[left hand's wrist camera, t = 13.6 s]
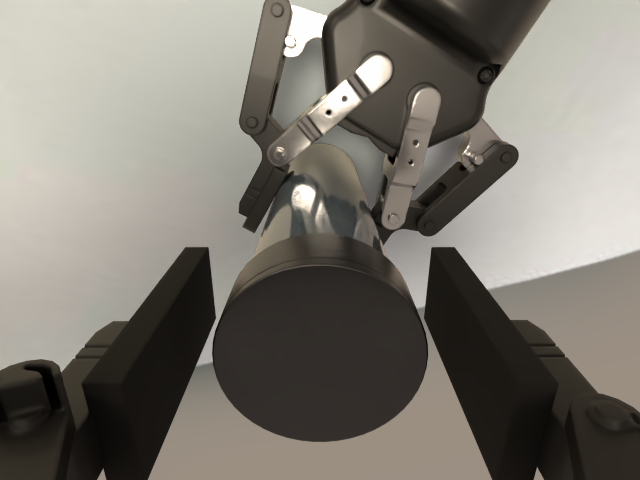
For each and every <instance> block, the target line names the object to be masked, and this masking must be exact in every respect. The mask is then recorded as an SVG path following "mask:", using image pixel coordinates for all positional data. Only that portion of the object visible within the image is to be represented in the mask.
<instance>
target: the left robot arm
mask: <svg viewBox="0 0 640 480" xmlns="http://www.w3.org/2000/svg"><path fill="white" fill-rule="evenodd" d="M215 319H216V315H215V305H214V296H213V286H212V277H211V268H210V258H209V249H208V247H185V249H184V250H183V251H182V253H181V254H180V255H179V256H178V258H177V259H176V260H175V262H174V263H173V264H172V266H171V267H170V268H169V270H168V271H167V272H166V273H165V275H164V276H163V277H162V279H161V280H160V281H159V283H158V284H157V285H156V286H155V288H154V289H153V290H152V292H151V293H150V294H149V296H148V297H147V298H146V300H145V301H144V302H143V303H142V305H141V306H140V307H139V309H138V310H137V311H136V313H135V314H134V315H133V317H132V318H131V319H130V320H129V321H113V322H112V323H110V324H108V325H107V326H105V327H104V328H102V329H101V330H99V331H98V332H96V333H95V334H94V335H93V337H92V338H91V339H90V340H89V341H88V342H87V343H86V345H85V348H82V349H81V350H80V352H79V353H78V354H77V355H76V358H75V359H73V360H72V361H71V362H70V363H69V364H68V366H67V367H66V368H65V369H64V370H63V371H62V373H61V371H60V367H59V366H58V365H57V364H56V363H54V362H53V361H48V360H42V359H40V360H31V361H25V362H21V363H18V364H15V365H11V366H9V367H7V368H5V369H2V370H0V480H97V479H98V477H99V475H100V473H101V471H102V469H103V468H104V472H105V476H106V480H148V478H149V475H150V473H151V471H152V468H153V466H154V463H155V461H156V459H157V456H158V454H159V452H160V449H161V447H162V444H163V442H164V440H165V437H166V435H167V433H168V430H169V428H170V425H171V423H172V421H173V418H174V416H175V414H176V411H177V409H178V407H179V404H180V402H181V400H182V397H183V395H184V392H185V390H186V388H187V385H188V383H189V381H190V378H191V376H192V373H193V371H194V369H195V366H196V364H197V362H198V359H199V357H200V355H201V352H202V350H203V347H204V345H205V343H206V340H207V338H208V336H209V333H210V331H211V329H212V326H213V324H214V321H215ZM424 319H425V321H426V324H427V326H428V329H429V331H430V333H431V336H432V338H433V340H434V343H435V345H436V347H437V350H438V352H439V355H440V357H441V359H442V362H443V364H444V366H445V369H446V371H447V374H448V376H449V378H450V381H451V383H452V385H453V388H454V390H455V392H456V395H457V397H458V400H459V402H460V404H461V407H462V409H463V411H464V414H465V416H466V418H467V421H468V423H469V426H470V428H471V430H472V433H473V435H474V437H475V440H476V442H477V444H478V447H479V449H480V452H481V454H482V456H483V459H484V461H485V463H486V466H487V468H488V471H489V473H490V475H491V478H492V480H533V479H534V476H535V472H536V468H537V467H538V469H539V471H540V473H541V474H542V476H543V478H544V480H640V412H638V411H637V410H636V409H635V408H633V407H632V406H630V405H628V404H626V403H624V402H623V401H621V400H619V399H616V398H613V397H610V396H607V395H604V394H598V393H597V391H596V390H595V389H594V388H593V387H592V386H591V384H590V383H589V382H588V381H587V380H586V379H585V378H584V376H583V375H582V374H581V373H580V372H579V371H578V369H577V368H576V367H575V366H574V365H573V364H572V363H571V361H570V360H569V359H568V358H566V357H565V354H564V353H563V352H562V351H561V350H560V349H559V347H556V345H555V343H554V342H553V341H552V339H551V338H550V337H549V336H548V335H547V334H546V332H545V331H543V330H542V329H540V328H539V327H537V326H536V325H534V324H532V323H531V322H529V321H528V320H510V319H509V318H508V317H507V315H506V314H505V313H504V311H503V310H502V309H501V307H500V306H499V305H498V303H497V302H496V301H495V300H494V298H493V297H492V296H491V294H490V293H489V292H488V290H487V289H486V288H485V286H484V285H483V284H482V283H481V281H480V280H479V279H478V277H477V276H476V275H475V273H474V272H473V271H472V270H471V268H470V267H469V266H468V264H467V263H466V262H465V260H464V259H463V258H462V256H461V255H460V254H459V253H458V251H457V250H456V249H455V247H432V249H431V258H430V268H429V277H428V286H427V296H426V305H425V315H424Z"/></svg>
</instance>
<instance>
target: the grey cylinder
mask: <svg viewBox="0 0 640 480" xmlns="http://www.w3.org/2000/svg"><path fill="white" fill-rule="evenodd" d="M289 164H290V168H289V171H288V174H287V176H286V178H285V179H284V181H283V183H282V185H281V187H280V188H279V190H278V191H277V193H276V196H275V198H274V201H273V203H272V206H271V209H270V212H269V214H268V217H267V220H266V223H265V225H264V228H263V231H262V234H261V237H260V239H259V242H258V245H257V248H256V250H255V253H254V256H253V258H254V257H255V256H256V255H257V254H259V253H260V252H261V251H263V250H264V249H266V248H267V247H269V246H271V245H273V244H275V243H277V242H279V241H282V240H284V239H287V238H290V237H294V236H298V235H303V234H312V233H329V234H337V235H343V236H346V237H350V238H354V239H356V240H359V241H361V242H364V243H366V244H368V245H369V246H371V247H373V248H375V249H376V250H378V251H379V252H380V253H382V254H383V255H384V256H386V257H387V255H386V253H385V250H384V247H383V244H382V241H381V239H380V236H379V233H378V230H377V228H376V225H375V222H374V219H373V217H372V214H371V211H370V208H369V205H368V203H367V200H366V197H365V194H364V192H363V189H362V186H361V183H360V181H359V178H358V175H357V172H356V169H355V167H354V164H353V162H352V161H351V159H350V158H349V157H348V155H347V154H346V153H344V152H343V151H342V150H341V149H339V148H337V147H335V146H332V145H329V144H322V143H318V144H311V145H309V146H308V147H307V148H306V149H305V150H304V151H302V152H301V153H300V154H299V155H298V156H297V157H295V158H294V159H293V160H292V161H291V162H290V163H289Z"/></svg>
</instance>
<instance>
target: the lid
mask: <svg viewBox="0 0 640 480" xmlns="http://www.w3.org/2000/svg"><path fill="white" fill-rule="evenodd" d="M212 356H213V366H214V369H215V373H216V377H217V379H218V382H219V384H220V386H221V389H222V390H223V392H224V393H225V395H226V397H227V398H228V400H229V401H230V402H231V403H232V404H233V406H234V407H235V408H236V409H237V410H238V411H239V412H240V413H241V414H243V415H244V416H245V417H246V418H248V419H249V420H250V421H252V422H253V423H255V424H256V425H258V426H260V427H262V428H263V429H265V430H268V431H270V432H272V433H275V434H277V435H281V436H284V437H287V438H291V439H296V440H301V441H311V442H329V441H339V440H344V439H349V438H353V437H357V436H360V435H363V434H366V433H368V432H370V431H373V430H375V429H377V428H379V427H380V426H382V425H384V424H386V423H387V422H389V421H390V420H391V419H393V418H394V417H395V416H397V415H398V414H399V413H400V412H401V411H402V410H403V409H404V408H405V407H406V406H407V405H408V404H409V402H410V401H411V400H412V399H413V397H414V396H415V394H416V392H417V391H418V389H419V387H420V385H421V383H422V380H423V378H424V374H425V371H426V367H427V360H428V344H427V338H426V333H425V330H424V327H423V325H422V322H421V319H420V317H419V314H418V312H417V309H416V307H415V304H414V302H413V299H412V297H411V295H410V292H409V290H408V287H407V285H406V283H405V281H404V279H403V277H402V275H401V273H400V272H399V271H398V270H397V268H396V267H395V266H394V264H393V263H392V262H391V261H390V260H389V259H388V258H387V257H386V256H384V255H383V254H382V253H380V252H379V251H378V250H376V249H375V248H373V247H371V246H369V245H368V244H366V243H364V242H361V241H359V240H356V239H354V238H350V237H346V236H343V235H337V234H329V233H312V234H303V235H298V236H294V237H290V238H287V239H284V240H282V241H279V242H277V243H275V244H273V245H271V246H269V247H267V248H266V249H264V250H263V251H261V252H260V253H259V254H257V255H256V256H255V257H254V258H253V259H252V260H251V261H250V262H249V263H248V264H247V265H246V266H245V267H244V269H243V270H242V271H241V272H240V274H239V276H238V278H237V279H236V281H235V283H234V286H233V288H232V291H231V293H230V296H229V298H228V300H227V303H226V305H225V308H224V310H223V313H222V315H221V318H220V320H219V323H218V325H217V328H216V330H215V335H214V340H213V350H212Z"/></svg>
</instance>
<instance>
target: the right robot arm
mask: <svg viewBox="0 0 640 480" xmlns="http://www.w3.org/2000/svg"><path fill="white" fill-rule="evenodd" d="M549 2H550V0H347V1H346V2H345V3H343V4H342V5H341V6H339V7H338V8H336V9H335V10H333V11H332V12H331V13H330V14H329V15H328V16H325V15H322V14H319V13H316V12H313V11H310V10H307V9H304V8H301V7H298V6H295V5H292V4H290V2H289V0H265V2H264V5H263V10H262V15H261V19H260V24H259V29H258V34H257V38H256V43H255V48H254V52H253V57H252V62H251V66H250V71H249V76H248V81H247V85H246V90H245V95H244V99H243V104H242V109H241V113H240V118H239V124H240V127H241V129H242V130H243V131H244V132H245V133H246V134H248V135H250V136H251V137H252V138H253V139H254V141H255V142H256V143H257V144H258V145H259V147H260V148H261V151H262V161H261V163H260V165H259V167H258V169H257V171H256V173H255V175H254V176H253V178H252V180H251V182H250V184H249V186H248V188H247V190H246V192H245V193H244V195H243V197H242V199H241V201H240V204H239V213H240V214H242V215H244V216H246V217H247V219H246V221H245V223H244V225H243V228H245V229H247V230H249V231H251V232H253V233H255V231H256V230H257V228H258V226H259V224H260V222H261V221H262V219H263V217H264V215H265V213H266V212H267V210H268V208H269V206H270V205H271V203H272V201H273V199H274V197H275V196H276V193H277V191H278V190H279V188H280V187H281V185H282V183H283V181H284V179H285V178H286V176H287V174H288V171H289V168H290V164H289V163H290V162H291V161H292V160H293V159H294V158H295V157H297V156H298V155H299V154H300V153H301V152H302V151H304V150H305V149H306V148H307V147H308V146H309V145H311V144H312V143H313V142H314V141H316V140H318V139H319V138H320V137H322V136H323V135H324V134H325V133H326V132H328V131H329V130H330V129H331V128H332V127H334V126H335V125H336V124H338V125H339V126H341V127H343V128H344V129H346V130H348V131H349V132H351V133H354V134H358V135H361V136H365V137H368V138H369V139H370V140H371V141H372V142H373V143H374V144H375V146H376V147H377V148H378V149H379V150H381V151H382V152H384V153H386V154H385V158H384V162H383V173H382V178H381V182H380V187H379V191H378V195H377V199H376V204H375V206H374V207H373V209H372V211H371V214H372V217H373V219H374V222H375V225H376V228H377V230H378V233H379V236H380V239H381V241H382V244H383V245H384V244H385V242H386V241H387V239H388V238H389V236H390V235H391V234H392V233H393V232H395V231H396V230H399V229H408V230H414V231H419V232H420V233H421V234H422V235H424V236H433V235H435V234H436V233H438V232H439V231H440V230H441V229H442V228H443V227H444V226H446V225H447V224H448V223H449V222H450V221H451V220H452V219H454V218H455V217H456V216H457V215H458V214H459V213H460V212H462V211H463V210H464V209H465V208H466V207H467V206H468V205H469V204H471V203H472V202H473V201H474V200H475V199H476V198H477V197H479V196H480V195H481V194H482V193H483V192H484V191H485V190H487V189H488V188H489V187H490V186H491V185H492V184H493V183H495V182H496V181H497V180H498V179H499V178H500V177H501V176H503V175H504V174H505V173H506V172H507V171H508V170H509V169H511V168H512V167H513V166H514V165H515V164H516V162H517V160H518V156H519V154H518V150H517V149H516V148H515V147H514V146H512V145H510V144H508V143H507V142H504V141H502V140H501V139H500V138H499V137H498V136H497V135H496V133H495V132H494V131H493V130H492V129H491V128H490V126H489V125H488V124H487V123H486V122H485V121H484V120H483V118H482V115H483V113H484V109H485V102H486V97H487V94H488V91H489V89H490V87H491V85H492V83H493V82H494V81H495V79H496V78H497V77H498V75H499V74H500V73H501V72H502V70H503V69H504V67H505V66H506V64H507V63H508V62H509V60H510V59H511V57H512V56H513V54H514V53H515V51H516V50H517V48H518V47H519V45H520V44H521V43H522V41H523V40H524V38H525V37H526V35H527V34H528V32H529V31H530V29H531V28H532V27H533V25H534V24H535V22H536V21H537V19H538V18H539V16H540V15H541V13H542V12H543V10H544V9H545V8H546V6H547V5H548V3H549ZM312 39H321V42H322V52H323V63H324V74H325V85H326V93H325V94H323V95H322V96H321V97H320V98H319V99H318V100H317V101H316V102H314V103H313V104H312V105H311V106H310V107H309V108H308V109H306V110H305V111H304V112H303V113H302V114H301V115H300V116H299V117H298V118H297V119H296V120H295V121H294V122H292V123H291V124H290V125H289V126H288V127H287V128H286V129H284V130H283V129H282V127H281V126H280V125H279V124H278V123H277V122H276V120H275V119H274V118H273V117H272V112H273V108H274V104H275V100H276V96H277V91H278V87H279V83H280V79H281V75H282V70H283V66H284V62H285V58H286V56H287V57H292V58H293V57H297V56H299V55H300V54H301V53H302V52H303V50H304V48H305V46H306V44H307V43H308V42H309V41H310V40H312ZM461 133H463V134H464V139H463V142H462V144H461V145H460V147H459V148H458V150H457V152H456V159H457V162H456V163H455V164H454V165H453V166H452V167H451V168H450V169H449V170H448V171H447V172H446V173H444V174H443V175H442V176H441V177H440V178H439V179H438V180H437V181H436V182H435V183H434V184H433V185H431V186H430V187H429V188H428V189H427V190H426V191H425V192H424V193H423V194H422V195H421V196H419V197H418V198H417V199H416V200H415V201H412V200H410V199H411V196H412V192H413V189H414V188H415V187H416V186H417V183H418V180H419V177H420V173H421V169H422V165H423V162H424V158H425V154H426V151H427V148H429V147H431V146H434V145H436V144H438V143H441V142H443V141H445V140H447V139H450V138H452V137H454V136H457V135H459V134H461ZM409 159H411V161H410V162H409Z"/></svg>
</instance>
